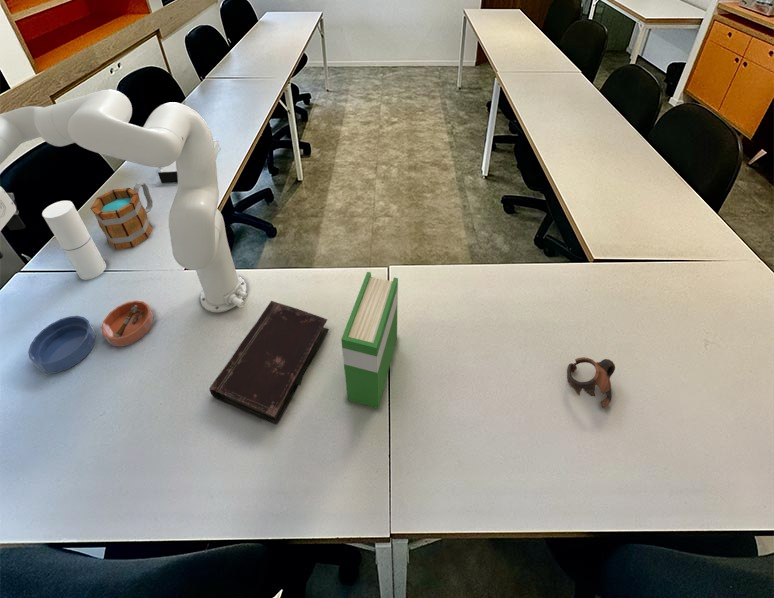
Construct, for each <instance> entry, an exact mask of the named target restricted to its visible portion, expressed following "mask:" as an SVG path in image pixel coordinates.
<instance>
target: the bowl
mask: <svg viewBox="0 0 774 598" xmlns="http://www.w3.org/2000/svg"><path fill="white" fill-rule="evenodd" d="M96 340H97V334H96V330H95V329H94V327H93V325H92V323H91V322H90V320H88V319H87V318H86V317H85V316H81V315H71V316H66V317H63V318H60V319H58V320H55V321H53V322H51V323H50V324H49V325H47V326H46V327H45V328H43V329H42V330H41V331H40V332H39V333H38V334H37V335H36V336H35V337H34V338H33V340H32V341H31V343H30V344H29V348H28V352H27V354H28V358H29V360H30V361H31V363H33V365H34V366H35V367H36V368H37V369H38V370H39V372H41V373H46V374H56V373H60V372H63V371H65V370H68V369H70V368H72V367H73V366H75V365H77V364H78V363H79V362H81V361H82V360H83V359H84V358H85V357H86V356H87V355H88V354H89V353H90V352H91V351H92V349H93V347H94V345H95V343H96Z"/></svg>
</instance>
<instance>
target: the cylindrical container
mask: <svg viewBox="0 0 774 598" xmlns="http://www.w3.org/2000/svg"><path fill="white" fill-rule="evenodd" d="M41 216H42V217H43V219H44V220H45V222H46V224H47V226H48V228H49V229H50V231H51V232H52V234H53V235H54V237H55V238H56V241H57V242H58V243H59V246H60V247H61V248H62V250H63V252H64V254H65V255H66V257H67V258H68V260H69V262H70V263H71V265H72V267H73V268H74V270H75V272H76V273H77V275H78V276H79V278H80V279H81V280H83V281H85V280H86V281H87V280H92V279H95V278H97V277H99V276H101V275H102V273H104V271H105V270H106V268H107V263H106V262H105V260H104V258H103V256H102V254H101V253H100V251H99V248H98V247H97V245H96V243H95V241H94V240H93V238H92V236H91V234H90V232H89V231H88V229H87V227H86V225H85V223H84V221H83V219H82V218H81V215H80V214H79V212H78V210H77V208H76V206H75V205H74V203H73V201H71V200H60V201H56V202H54V203H52V204H50V205H48V206H47V207H45V208H44V209H43V210H42V213H41Z"/></svg>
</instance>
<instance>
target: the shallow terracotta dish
mask: <svg viewBox="0 0 774 598" xmlns="http://www.w3.org/2000/svg"><path fill="white" fill-rule="evenodd" d="M135 305H137V310H140V311H142V312H143V314H139V313H136V314H134V315H133V316H132V319H130V320H131V321H130V322H129V323H128V325H127V326H126V328H125V330H124V332H123V335H122V337H119V336H116V335H114V333H117V331H118V330H119V329H120V328H121V326H122V325H123V322H124V321H125V319H126V317H128V315H129V313H130V310H131V309H132V307H134V306H135ZM138 314H139V316H138V318H139V319H137V321H136V322H135V323H134V324H133V323H132V322H133V321H132V320H133V318H134V316H137V315H138ZM154 318H155V317H154V314H153V311H152V309H151V307H150V306H149V304H147V303H146V302H144V301H143V300H142V301H141V300H132V301H127V302H124V303H123V304H120V305H118V306H117V307H115V308H114V309H113V310H112V311H110V312H109V313H108V314H107V315H106V317H105V318H104V319H103V322H102V325H101V327H100V329H101V334H102V336H103V338H104V339H105V340H106V342H108V344H110V345H111V346H114V347H124V346H129V345H132V344H133V343H136V342H137V341H139V340H140V339H142V338H143V337H144V336H145V335H146V334H147V333H148V332H149V331H150V329H151V328H152V326H153V323H154Z"/></svg>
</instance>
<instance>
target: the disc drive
mask: <svg viewBox="0 0 774 598" xmlns="http://www.w3.org/2000/svg"><path fill="white" fill-rule="evenodd" d="M213 141H214V147H215V158H216V160H217V158H218V156H219V154H220V152H221V145H220V142H219V140H213ZM157 175H158V177H159V181H160V183H161V184H176V183H177V184H178V177H177V169H176V161H175V162H174V163H172V164H171V165H168V166H165V167H161V169H160V170H159V171H158V172H157Z"/></svg>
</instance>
